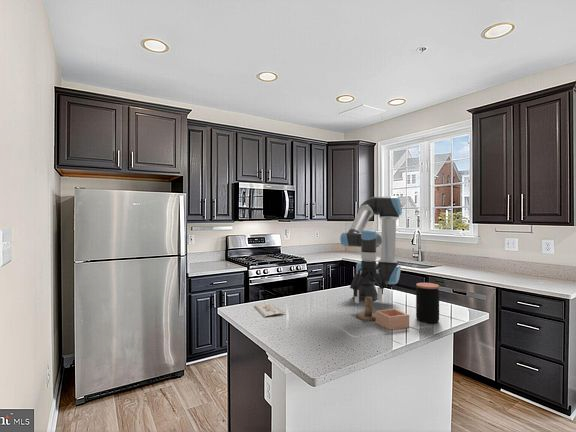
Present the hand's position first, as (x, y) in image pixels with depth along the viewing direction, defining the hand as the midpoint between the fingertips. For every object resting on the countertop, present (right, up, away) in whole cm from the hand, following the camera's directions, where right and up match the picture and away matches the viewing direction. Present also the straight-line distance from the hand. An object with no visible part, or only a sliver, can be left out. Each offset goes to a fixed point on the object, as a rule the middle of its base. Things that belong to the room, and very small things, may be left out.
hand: (368, 301), depth 171 cm
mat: (0, -8, 0) cm, 8 cm away
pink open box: (+9, -8, -12) cm, 17 cm away
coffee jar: (+28, -9, -5) cm, 30 cm away
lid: (0, -8, 0) cm, 8 cm away
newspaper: (-52, -9, +14) cm, 54 cm away
